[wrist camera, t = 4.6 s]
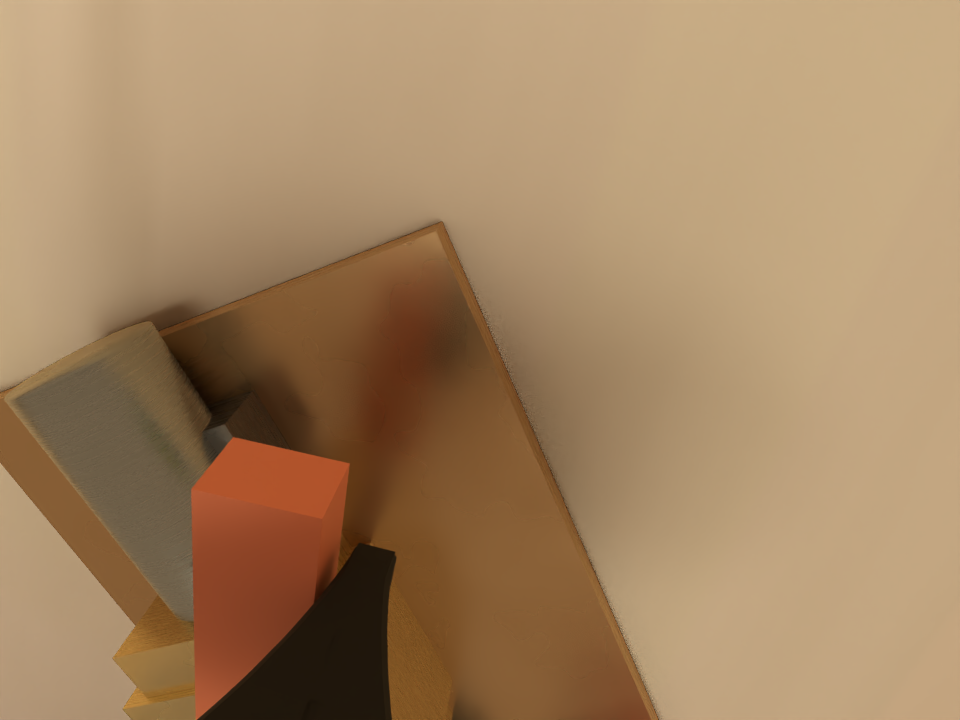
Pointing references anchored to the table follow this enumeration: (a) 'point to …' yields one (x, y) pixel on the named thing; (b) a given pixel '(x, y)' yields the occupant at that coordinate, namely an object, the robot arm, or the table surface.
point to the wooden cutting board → (370, 489)
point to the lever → (258, 555)
